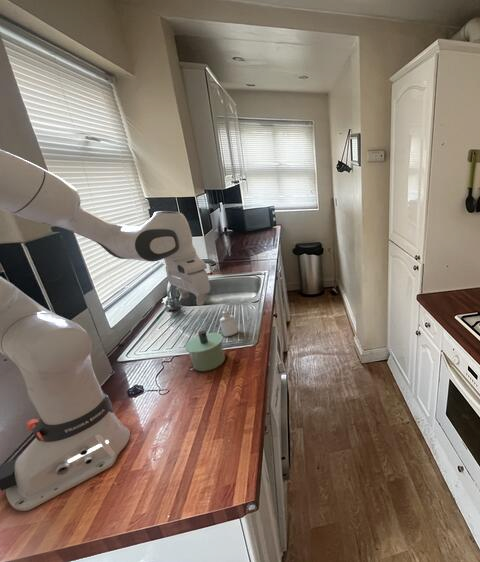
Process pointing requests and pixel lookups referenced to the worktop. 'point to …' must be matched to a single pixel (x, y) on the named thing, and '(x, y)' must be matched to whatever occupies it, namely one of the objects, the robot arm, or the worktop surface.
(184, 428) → the worktop surface
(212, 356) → the pot
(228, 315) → the eye dropper bottle
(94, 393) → the robot arm
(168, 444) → the worktop surface
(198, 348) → the lid
